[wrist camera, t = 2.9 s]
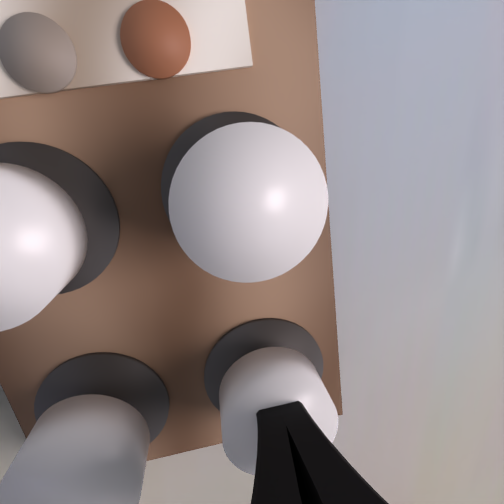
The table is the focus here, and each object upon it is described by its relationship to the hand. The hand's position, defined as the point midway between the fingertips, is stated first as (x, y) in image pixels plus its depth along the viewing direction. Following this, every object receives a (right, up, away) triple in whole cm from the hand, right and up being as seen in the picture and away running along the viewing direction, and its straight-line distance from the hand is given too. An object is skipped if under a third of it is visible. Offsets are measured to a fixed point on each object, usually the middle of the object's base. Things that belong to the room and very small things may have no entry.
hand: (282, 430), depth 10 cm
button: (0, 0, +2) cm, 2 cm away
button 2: (-6, -1, +1) cm, 6 cm away
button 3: (-1, +7, -1) cm, 7 cm away
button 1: (-7, +6, -2) cm, 9 cm away
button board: (-5, +7, +2) cm, 9 cm away
